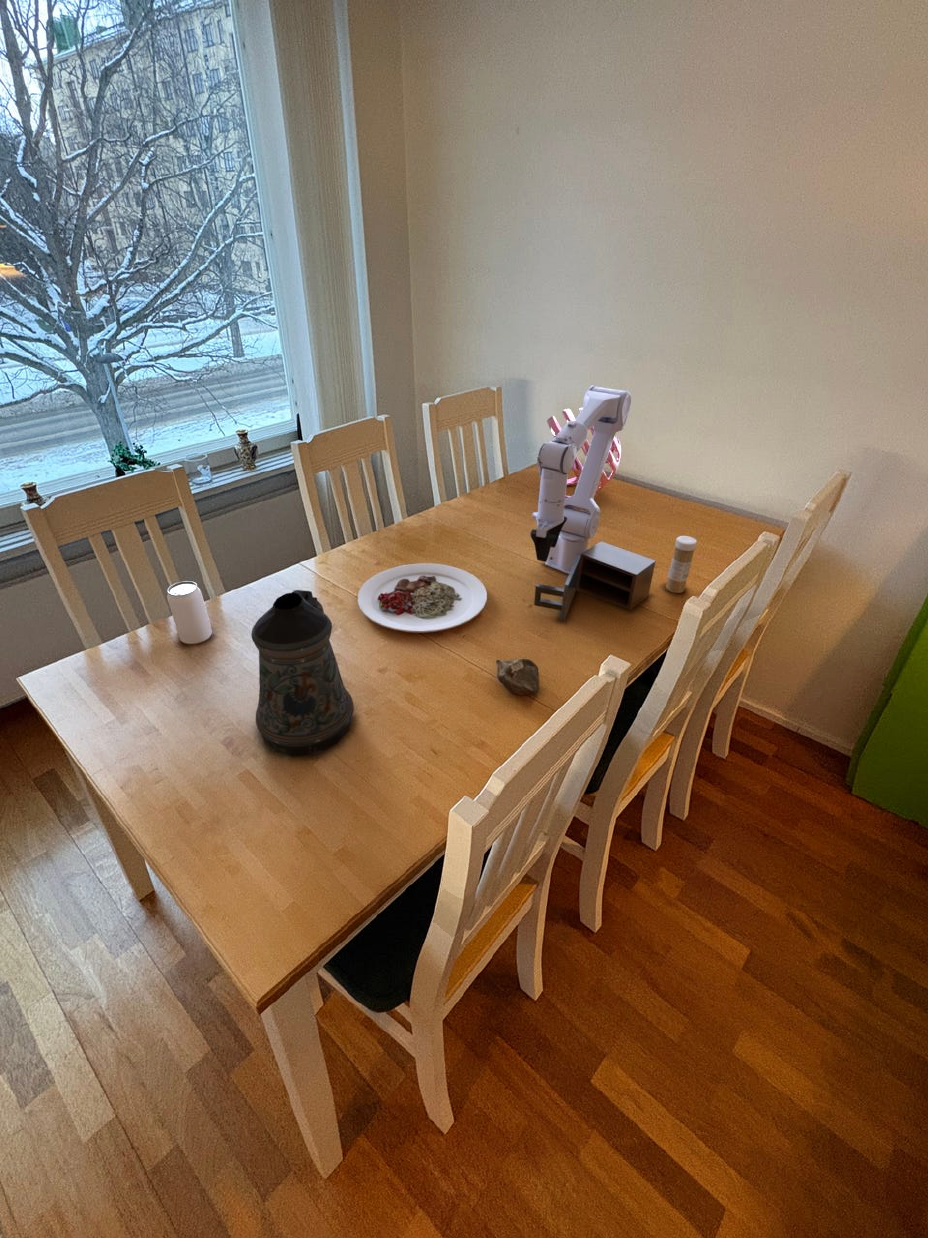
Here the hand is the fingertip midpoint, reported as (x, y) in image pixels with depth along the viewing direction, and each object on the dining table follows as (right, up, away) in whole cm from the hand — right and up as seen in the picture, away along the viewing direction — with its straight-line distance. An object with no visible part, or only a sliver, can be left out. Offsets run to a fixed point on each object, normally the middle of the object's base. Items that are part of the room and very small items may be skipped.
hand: (546, 553), depth 138 cm
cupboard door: (+2, -11, +2) cm, 11 cm away
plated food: (-29, -11, +2) cm, 31 cm away
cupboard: (+17, -9, +6) cm, 20 cm away
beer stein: (-47, -33, -31) cm, 66 cm away
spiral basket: (+18, +26, +59) cm, 67 cm away
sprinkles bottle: (+32, -8, +8) cm, 34 cm away
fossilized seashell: (-9, -28, -23) cm, 38 cm away
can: (-76, -19, -11) cm, 79 cm away
